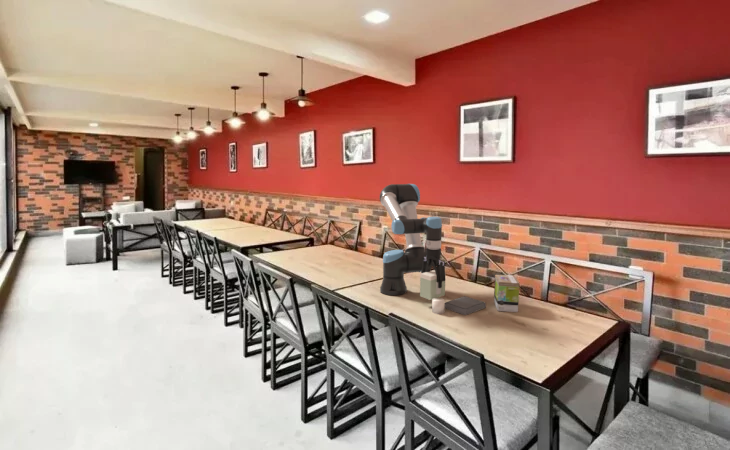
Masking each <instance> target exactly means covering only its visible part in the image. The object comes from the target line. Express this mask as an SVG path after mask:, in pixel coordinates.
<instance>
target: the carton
mask: <svg viewBox="0 0 730 450" xmlns="http://www.w3.org/2000/svg"><path fill="white" fill-rule="evenodd" d="M445 276H446V272H445ZM419 277H420V278H419V282H420V283H419V297H421V298H423V299H426V300H429V301H432V299H433V298H442V297H444V296H445V295H446V280H445V281H442V288H441V293H440V294H436V282H437V275H436V273H435V269H433V270H430V272H425V273H421V272H420V275H419Z"/></svg>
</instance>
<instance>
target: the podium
mask: <svg viewBox="0 0 730 450" xmlns="http://www.w3.org/2000/svg"><path fill="white" fill-rule="evenodd" d="M485 308H486V302H485V301H483V300H479V299H475V298H473V297H469V296H465V295H464V296H461V297H458V298H454V299H452V300H448V301H445V310H449V311H452V312H454V313H457V314H460V315H463V316H467V315H469V314H472V313H475V312H478V311H480V310H482V309H483V310H484V309H485Z"/></svg>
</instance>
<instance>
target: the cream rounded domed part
mask: <svg viewBox="0 0 730 450" xmlns="http://www.w3.org/2000/svg"><path fill="white" fill-rule="evenodd" d="M445 303H446V301H445V298H443V297H438V298H433V299H432V300H431V312H432V313H433V314H435V315H436V314H437V315H442V314H445V311H446V308H445Z"/></svg>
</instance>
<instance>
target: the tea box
mask: <svg viewBox="0 0 730 450" xmlns="http://www.w3.org/2000/svg"><path fill="white" fill-rule="evenodd" d="M493 288H494V290H493V292H494V293H493V303H494V305H495V309H496V310H497V311H498V312H508V313H509V312H510V313H518V312H519V299H520V296H519V295H520V282H519V280H518V279H517V277H516V276H515V275H510V274H495V275H494V287H493Z"/></svg>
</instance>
